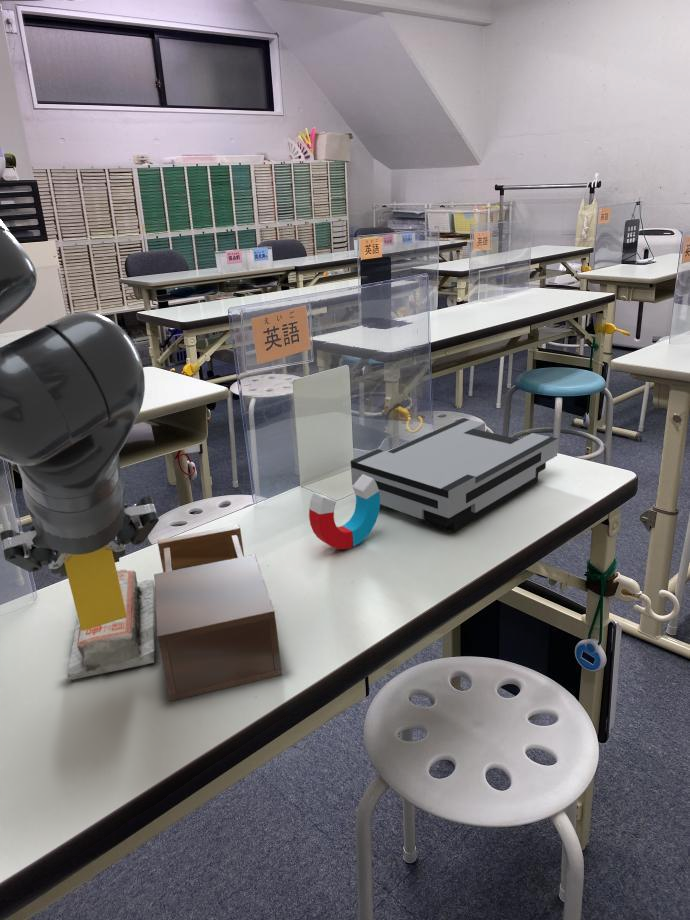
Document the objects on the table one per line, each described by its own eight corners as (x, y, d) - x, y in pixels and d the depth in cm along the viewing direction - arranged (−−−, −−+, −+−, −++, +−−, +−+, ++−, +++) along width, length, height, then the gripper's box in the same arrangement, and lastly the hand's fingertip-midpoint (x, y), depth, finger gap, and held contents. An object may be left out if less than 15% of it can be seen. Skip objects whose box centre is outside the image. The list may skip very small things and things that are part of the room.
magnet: (371, 528, 110) (368, 471, 107) (382, 534, 108) (379, 476, 105) (312, 554, 104) (306, 494, 100) (322, 560, 102) (317, 500, 98)
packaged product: (150, 630, 80) (60, 649, 77) (157, 664, 81) (69, 683, 79) (149, 558, 96) (75, 572, 94) (155, 588, 98) (82, 602, 96)
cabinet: (165, 632, 88) (154, 573, 84) (262, 611, 90) (255, 554, 87) (170, 701, 75) (157, 636, 72) (282, 674, 78) (274, 611, 75)
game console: (556, 474, 126) (558, 432, 123) (449, 539, 105) (448, 491, 102) (463, 450, 140) (463, 412, 137) (353, 504, 119) (350, 460, 116)
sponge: (81, 631, 69) (61, 553, 66) (76, 607, 73) (57, 532, 70) (127, 617, 71) (109, 540, 67) (119, 594, 75) (102, 521, 72)
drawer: (164, 568, 101) (156, 527, 99) (240, 553, 104) (235, 512, 101) (169, 631, 86) (160, 584, 84) (258, 612, 89) (252, 566, 86)
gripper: (151, 437, 60) (148, 511, 75) (-28, 474, 55) (6, 546, 69) (174, 513, 58) (166, 574, 72) (-11, 560, 52) (21, 616, 67)
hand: (88, 560), depth 71 cm, fingers closed on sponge, 4 cm apart
